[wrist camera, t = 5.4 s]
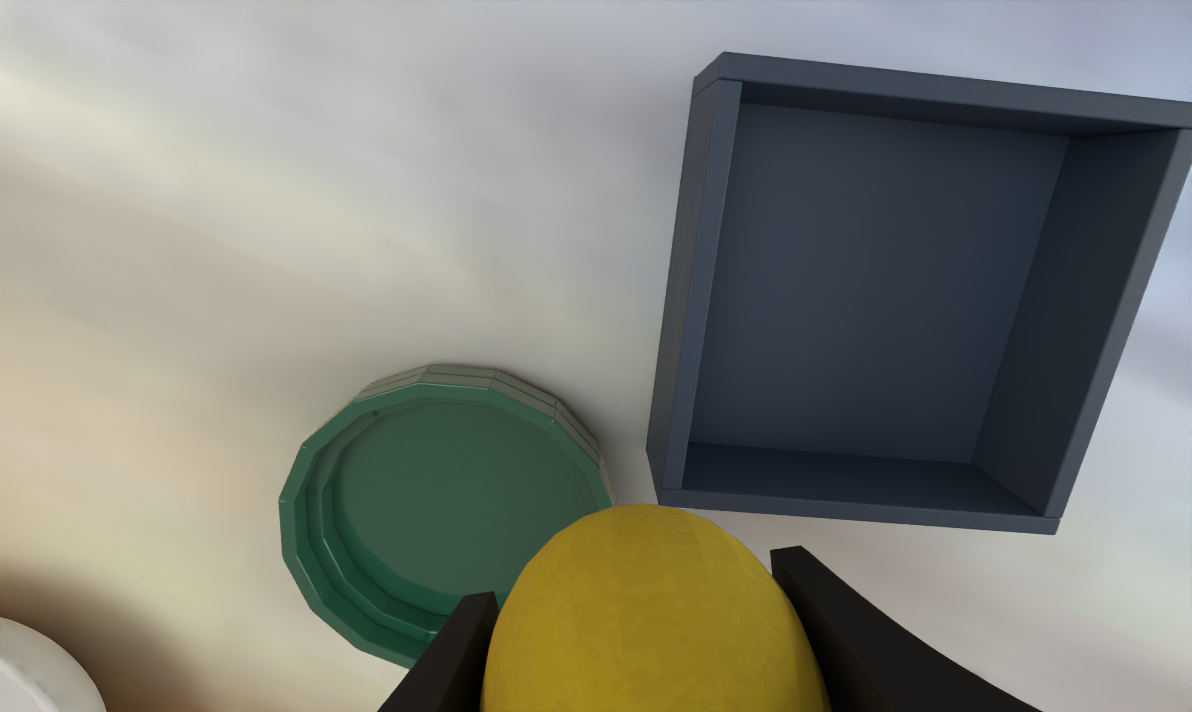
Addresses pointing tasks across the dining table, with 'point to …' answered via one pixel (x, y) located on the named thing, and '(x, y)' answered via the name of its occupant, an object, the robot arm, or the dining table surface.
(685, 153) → the tub
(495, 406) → the dish
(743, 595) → the lemon
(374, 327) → the dining table surface
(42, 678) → the spoon rest
